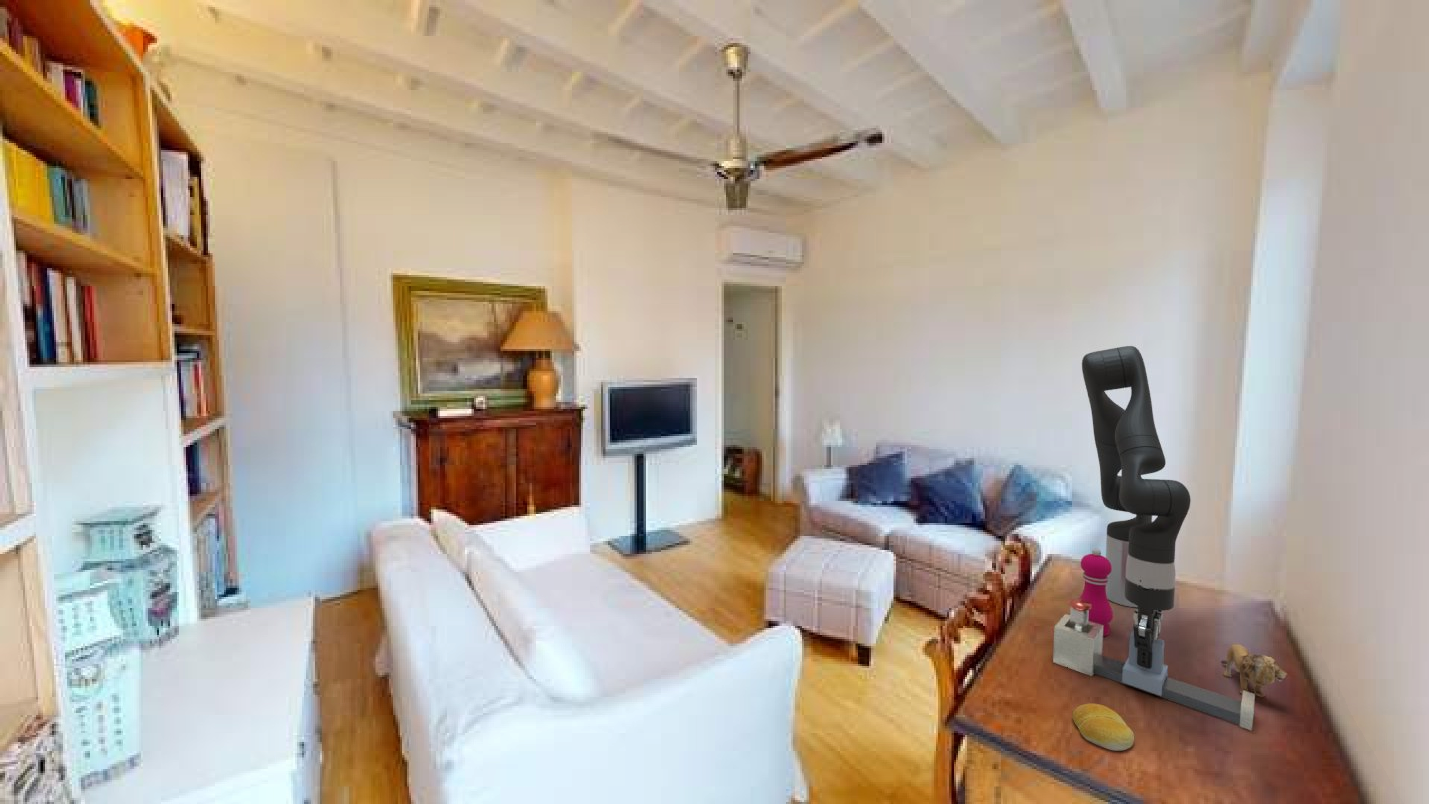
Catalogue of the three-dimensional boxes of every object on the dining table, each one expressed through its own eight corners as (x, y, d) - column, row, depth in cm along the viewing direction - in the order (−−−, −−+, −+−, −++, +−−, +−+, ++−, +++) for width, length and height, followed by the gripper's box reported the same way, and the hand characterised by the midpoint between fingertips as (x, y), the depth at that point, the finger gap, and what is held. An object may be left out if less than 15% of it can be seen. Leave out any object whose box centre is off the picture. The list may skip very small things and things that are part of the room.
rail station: (1064, 648, 119) (1065, 614, 118) (1253, 712, 97) (1256, 670, 96) (1053, 662, 114) (1054, 626, 113) (1251, 733, 92) (1254, 690, 91)
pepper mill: (1100, 622, 130) (1103, 543, 128) (1119, 638, 123) (1123, 554, 121) (1068, 621, 131) (1071, 543, 129) (1086, 637, 123) (1089, 554, 122)
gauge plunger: (1070, 621, 116) (1071, 596, 115) (1092, 628, 113) (1093, 602, 112) (1065, 628, 113) (1066, 602, 113) (1087, 635, 110) (1088, 608, 110)
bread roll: (1088, 749, 89) (1089, 727, 89) (1066, 714, 98) (1067, 694, 97) (1145, 757, 87) (1146, 734, 87) (1118, 721, 96) (1119, 700, 95)
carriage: (1129, 667, 110) (1131, 626, 109) (1167, 680, 106) (1169, 637, 105) (1122, 682, 105) (1124, 639, 104) (1161, 696, 101) (1163, 651, 100)
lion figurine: (1289, 711, 97) (1292, 665, 96) (1253, 706, 98) (1256, 660, 98) (1235, 666, 111) (1238, 625, 110) (1204, 662, 113) (1207, 622, 112)
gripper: (1132, 564, 111) (1129, 643, 112) (1118, 584, 102) (1114, 670, 103) (1180, 574, 105) (1175, 657, 107) (1169, 596, 96) (1164, 687, 98)
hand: (1145, 663), depth 105 cm, fingers closed on carriage, 2 cm apart
